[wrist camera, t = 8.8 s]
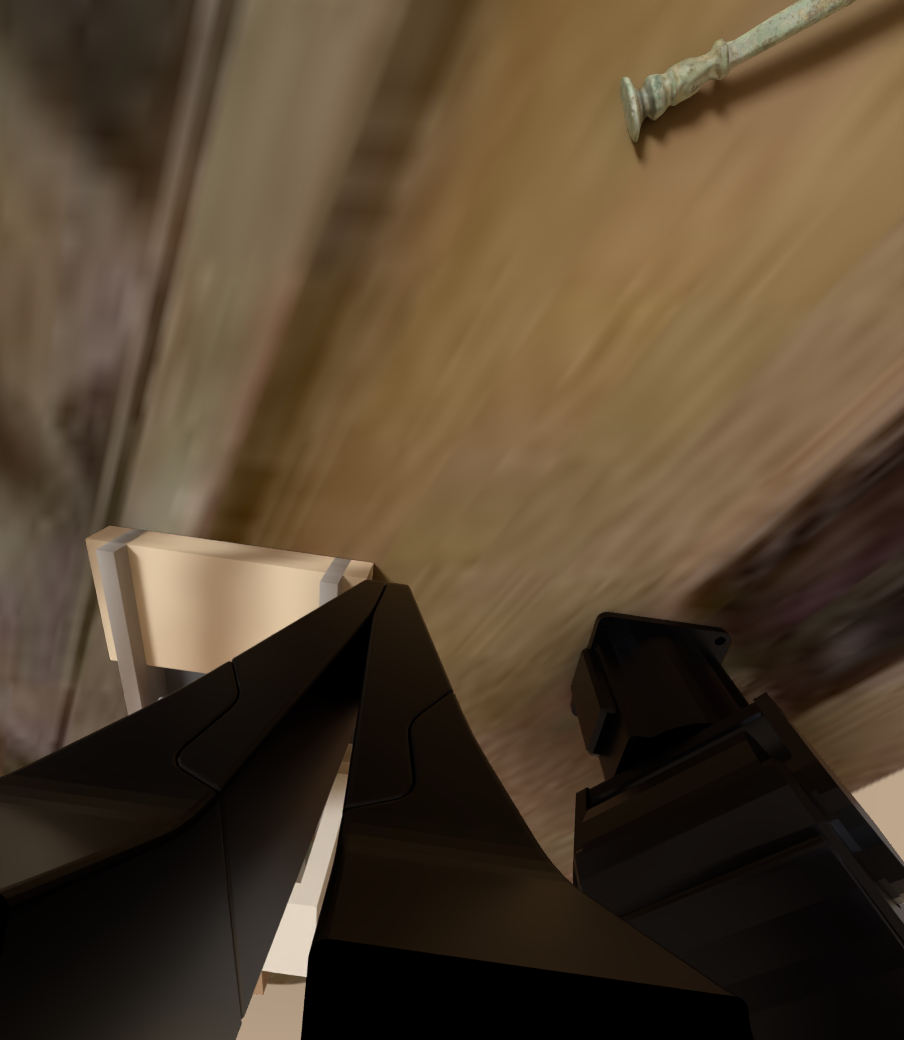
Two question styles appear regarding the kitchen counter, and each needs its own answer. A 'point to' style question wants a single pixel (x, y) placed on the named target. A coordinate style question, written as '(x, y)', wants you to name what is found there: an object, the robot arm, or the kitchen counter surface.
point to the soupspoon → (717, 62)
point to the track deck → (201, 604)
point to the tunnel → (308, 893)
